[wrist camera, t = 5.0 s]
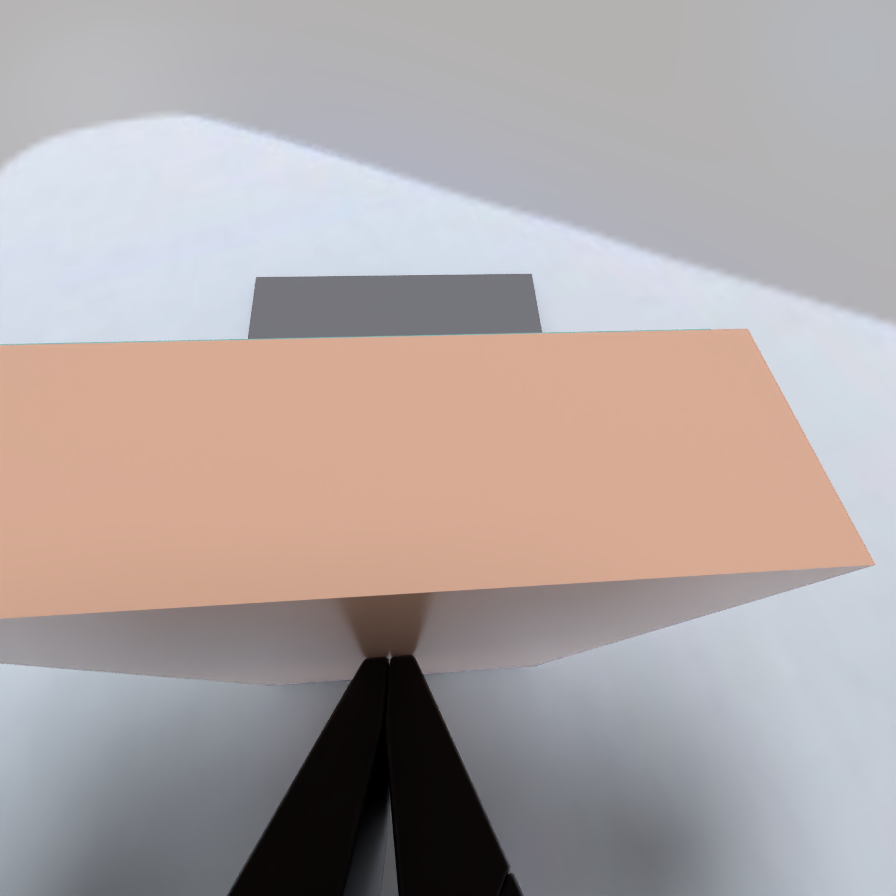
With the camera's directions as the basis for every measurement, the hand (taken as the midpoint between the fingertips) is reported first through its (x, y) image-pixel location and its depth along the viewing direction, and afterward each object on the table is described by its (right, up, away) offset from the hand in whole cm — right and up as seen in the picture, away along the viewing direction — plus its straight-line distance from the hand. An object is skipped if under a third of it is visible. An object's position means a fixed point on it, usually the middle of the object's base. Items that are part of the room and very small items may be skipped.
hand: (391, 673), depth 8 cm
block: (0, -2, +6) cm, 7 cm away
